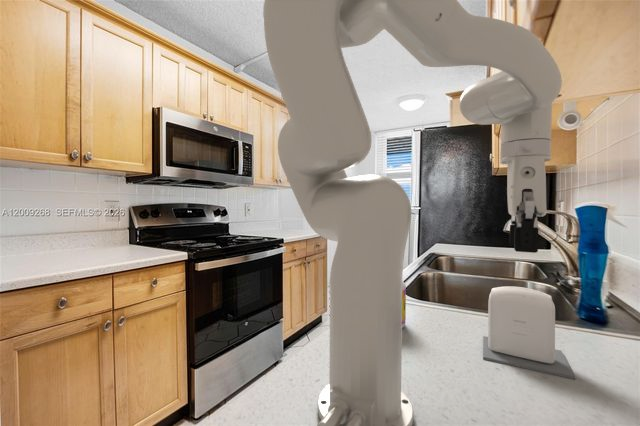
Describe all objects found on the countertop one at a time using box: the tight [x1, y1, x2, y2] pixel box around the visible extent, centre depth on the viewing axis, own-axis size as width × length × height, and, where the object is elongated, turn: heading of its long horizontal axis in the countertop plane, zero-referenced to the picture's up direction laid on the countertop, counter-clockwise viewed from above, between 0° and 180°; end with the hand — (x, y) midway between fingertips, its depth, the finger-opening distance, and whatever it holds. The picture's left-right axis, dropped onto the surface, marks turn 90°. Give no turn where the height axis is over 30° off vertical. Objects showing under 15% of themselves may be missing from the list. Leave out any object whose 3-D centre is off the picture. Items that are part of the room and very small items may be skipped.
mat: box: [482, 335, 576, 380], centre depth 56 cm, size 10×13×1 cm
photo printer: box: [487, 285, 556, 364], centre depth 55 cm, size 10×4×12 cm, turn 56°
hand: (522, 248), depth 54 cm, fingers open, 9 cm apart
